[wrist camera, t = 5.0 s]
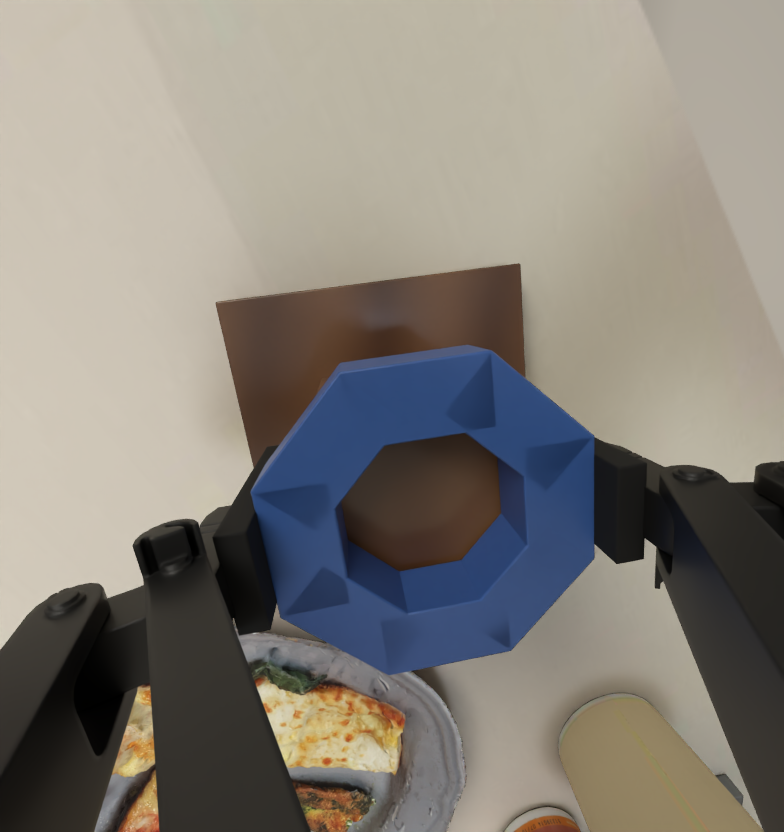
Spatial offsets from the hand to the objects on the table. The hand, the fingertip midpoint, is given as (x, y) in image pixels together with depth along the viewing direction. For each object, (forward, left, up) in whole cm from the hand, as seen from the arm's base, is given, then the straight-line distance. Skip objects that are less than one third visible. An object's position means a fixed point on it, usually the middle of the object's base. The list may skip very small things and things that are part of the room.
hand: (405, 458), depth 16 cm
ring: (0, 0, +4) cm, 4 cm away
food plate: (+11, +21, -6) cm, 25 cm away
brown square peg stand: (0, 0, -6) cm, 6 cm away
